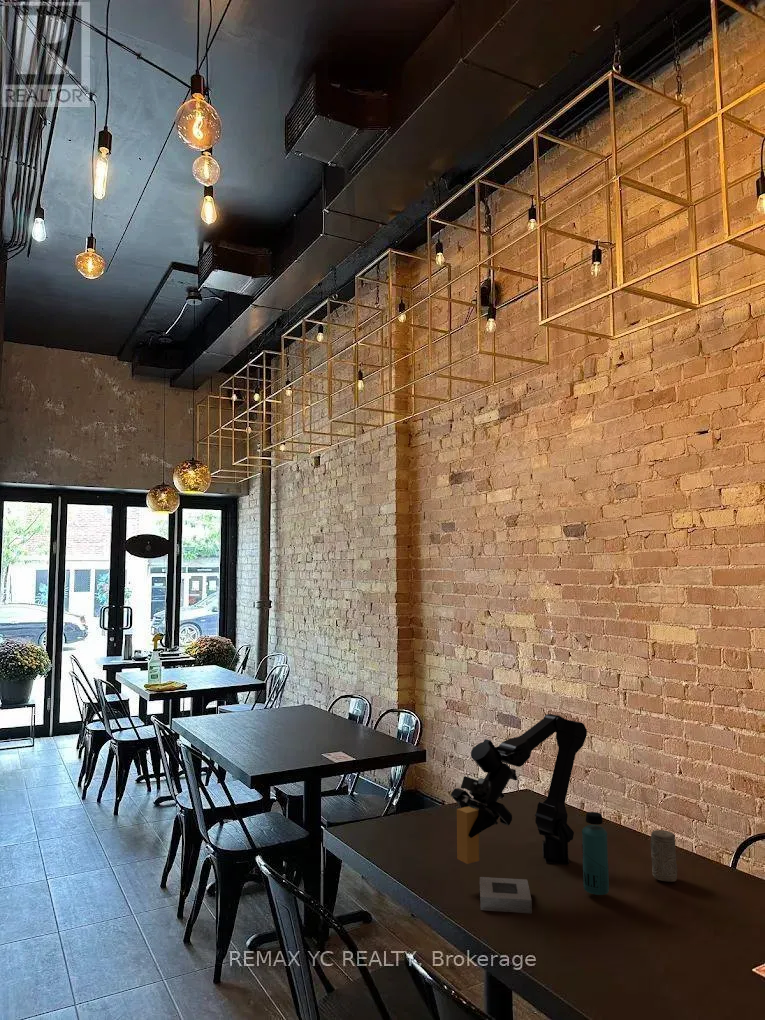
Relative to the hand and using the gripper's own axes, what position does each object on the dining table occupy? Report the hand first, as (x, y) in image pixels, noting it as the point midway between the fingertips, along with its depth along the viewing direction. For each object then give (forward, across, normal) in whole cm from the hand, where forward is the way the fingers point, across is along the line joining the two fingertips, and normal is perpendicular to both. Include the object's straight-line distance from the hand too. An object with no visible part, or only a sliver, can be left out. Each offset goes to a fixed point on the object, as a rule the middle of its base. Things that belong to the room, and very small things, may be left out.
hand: (464, 834), depth 181 cm
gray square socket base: (+7, +11, +12) cm, 18 cm away
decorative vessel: (-24, +25, +44) cm, 56 cm away
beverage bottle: (-8, +22, +27) cm, 36 cm away
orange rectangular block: (+4, 0, +6) cm, 7 cm away
